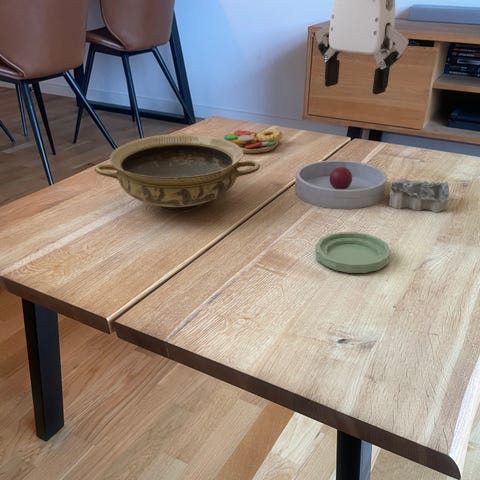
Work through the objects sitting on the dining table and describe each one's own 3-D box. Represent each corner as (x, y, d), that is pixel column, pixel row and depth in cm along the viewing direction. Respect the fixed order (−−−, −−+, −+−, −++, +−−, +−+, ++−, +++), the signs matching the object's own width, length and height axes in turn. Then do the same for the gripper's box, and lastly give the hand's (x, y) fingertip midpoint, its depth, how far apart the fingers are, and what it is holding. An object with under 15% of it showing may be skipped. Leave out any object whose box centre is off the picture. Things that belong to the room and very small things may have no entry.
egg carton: (385, 208, 103) (388, 187, 101) (389, 194, 109) (392, 173, 106) (446, 214, 100) (450, 193, 98) (446, 199, 106) (451, 178, 104)
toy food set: (286, 142, 138) (287, 128, 136) (269, 157, 128) (269, 143, 126) (236, 137, 142) (236, 124, 140) (216, 152, 132) (216, 138, 130)
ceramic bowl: (89, 233, 95) (78, 177, 90) (111, 184, 115) (104, 135, 109) (263, 229, 96) (264, 173, 90) (256, 180, 116) (256, 132, 110)
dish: (374, 175, 117) (376, 159, 115) (393, 208, 103) (396, 190, 101) (292, 176, 117) (293, 160, 115) (299, 209, 103) (300, 191, 101)
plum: (349, 185, 111) (351, 163, 109) (352, 193, 108) (354, 171, 105) (327, 185, 111) (328, 163, 109) (330, 193, 108) (331, 171, 105)
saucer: (380, 241, 91) (381, 231, 90) (395, 275, 82) (397, 264, 81) (312, 242, 91) (313, 232, 90) (320, 275, 82) (320, 264, 81)
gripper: (428, -27, 84) (410, 92, 94) (333, -29, 94) (326, 79, 103) (403, -25, 80) (387, 100, 89) (307, -27, 89) (301, 86, 99)
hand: (354, 89), depth 96 cm, fingers open, 9 cm apart
